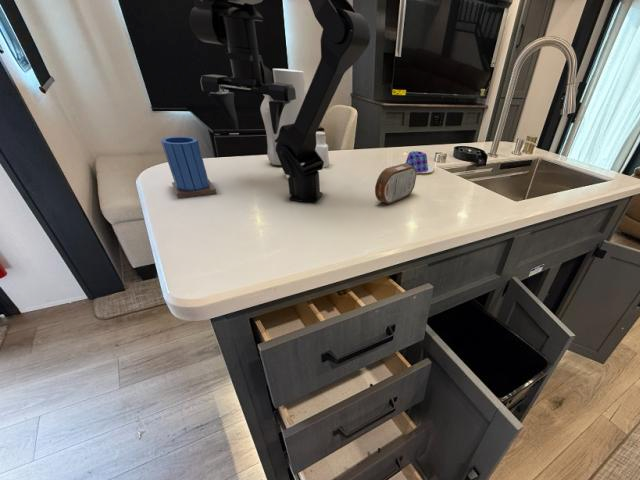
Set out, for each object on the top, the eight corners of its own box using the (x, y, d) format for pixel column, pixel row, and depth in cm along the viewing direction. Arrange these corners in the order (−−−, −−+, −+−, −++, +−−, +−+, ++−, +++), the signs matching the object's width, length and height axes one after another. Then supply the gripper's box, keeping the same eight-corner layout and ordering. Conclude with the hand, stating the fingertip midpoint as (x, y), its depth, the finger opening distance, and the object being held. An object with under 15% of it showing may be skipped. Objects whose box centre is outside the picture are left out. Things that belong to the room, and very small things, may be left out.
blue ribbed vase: (210, 180, 80) (199, 136, 74) (207, 190, 75) (194, 144, 69) (179, 181, 78) (165, 136, 72) (173, 190, 73) (157, 143, 67)
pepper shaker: (326, 168, 101) (325, 134, 95) (314, 166, 101) (311, 133, 95) (329, 164, 104) (327, 132, 99) (316, 163, 104) (314, 130, 98)
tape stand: (209, 183, 82) (203, 160, 79) (216, 194, 77) (210, 170, 74) (173, 187, 78) (165, 163, 75) (178, 198, 73) (169, 173, 70)
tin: (407, 191, 91) (410, 159, 86) (416, 194, 89) (420, 162, 84) (373, 205, 80) (374, 170, 75) (383, 208, 79) (385, 173, 74)
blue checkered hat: (416, 162, 115) (418, 147, 112) (441, 172, 109) (443, 155, 106) (391, 167, 108) (392, 150, 105) (416, 177, 102) (418, 159, 99)
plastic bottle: (277, 169, 96) (267, 89, 84) (264, 163, 99) (251, 86, 87) (295, 165, 100) (287, 89, 88) (281, 160, 103) (272, 86, 91)
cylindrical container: (317, 177, 94) (310, 72, 78) (298, 182, 89) (287, 71, 73) (299, 171, 96) (289, 69, 81) (280, 176, 91) (266, 68, 76)
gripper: (300, 53, 73) (305, 130, 82) (218, 43, 73) (233, 120, 82) (282, 53, 64) (291, 139, 73) (189, 41, 64) (209, 128, 73)
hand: (256, 131), depth 76 cm, fingers open, 9 cm apart
